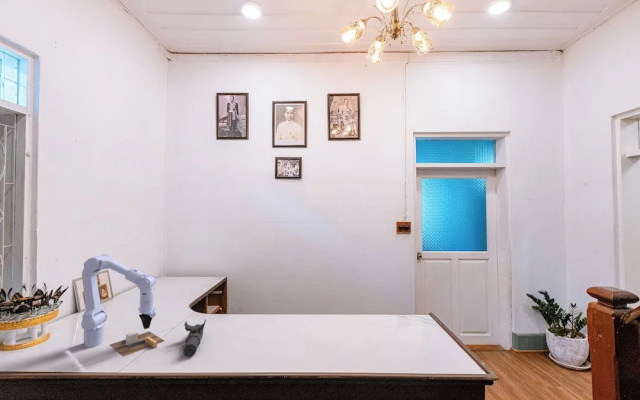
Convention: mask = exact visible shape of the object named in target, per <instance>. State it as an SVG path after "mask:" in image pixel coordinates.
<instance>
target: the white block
mask: <svg viewBox="0 0 640 400" xmlns="http://www.w3.org/2000/svg"><path fill="white" fill-rule="evenodd" d="M138 335H139V332H137V331H135V330H134V331H131V332H128V333H125V339H126V345H127V346H128V345H129V344H132V343H135V342H138Z"/></svg>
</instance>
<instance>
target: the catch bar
mask: <svg viewBox="0 0 640 400" xmlns="http://www.w3.org/2000/svg"><path fill="white" fill-rule="evenodd" d="M146 343H148V344H149V345H151V347H152V348H154V349H155V348H158V344H157V341H155V340H153V339H152V338H150V337H146Z"/></svg>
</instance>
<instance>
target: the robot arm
mask: <svg viewBox="0 0 640 400" xmlns="http://www.w3.org/2000/svg"><path fill="white" fill-rule="evenodd" d="M108 269H110V270H112V271H114V272H117V273H118V274H121V275H123V276H124V278H125V280H127V281H129V282H131V283H133V284H135V285H136V286H137V288H138V289H139V307H138V312H139V314H138V317H139V319H140V320H141V323H142V327H143V329H144V330H147V329H150V327H151V323H152V320H153V318H154V317H156V312H155V310H156V309H157V307H155V306H154V294H155V293H154V285H155V284H156V281H157V280H156V277H155V276H154V275H152V274H149V275H148V274H147V273H144V272H141V271H140V270H139V268H131V269H130V268H128V267H127V266H125V265H124V264H123V263H120V262H119V261H117V260H116V259H114V257H112V256H110V255H108V254H100V255H98V256H94V257H90V258H88V259H87V260H85V261H84V262H83V268H82V272H81V280H82V287H83V294H84V303H85V304H84V305H85V312H84V313H83V315H82V316H81V317H82V320H81V323H80V326H81V328H82V330H84V331H83V344H84V347H85V348H88V349H89V348H96V347H98V346H101V345H102V344H104V341H105V339H104V338H105V334H104V333H105V331H104V330H105V328H104V326H105V322H106V321H107V319H108V313H107V312H106V311H105V308H104V307H103V306H102V305H101V301H100V292H99V286H98V277H97V276H98V274H99V273H100V272H101V271H102V270H108Z"/></svg>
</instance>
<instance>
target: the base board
mask: <svg viewBox="0 0 640 400" xmlns="http://www.w3.org/2000/svg"><path fill="white" fill-rule="evenodd" d="M146 337H150V338H152V339H153V340H155V341H157V345H158V344H161V343H163V342H165V340H164V339H162V338H161V337H159V336H157V334H154V333H153V332H151V331H146V332H143V333H140V334H138V342H135V343H132V344H129V345H128V346H127V345H126V338H125V339H122V340H119V341H116V342H113V343H111V344H109V347H111V348H112V349H114V350H115V351H116V352H117V353H118V354H119V355H121V356H122V357H123V358H125V357H127V356H130V355H132V354H134V353H137V352H139V351H142V350H146V349H148V348H150V347H152V346H151V345H149V344H148V343H146Z"/></svg>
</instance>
